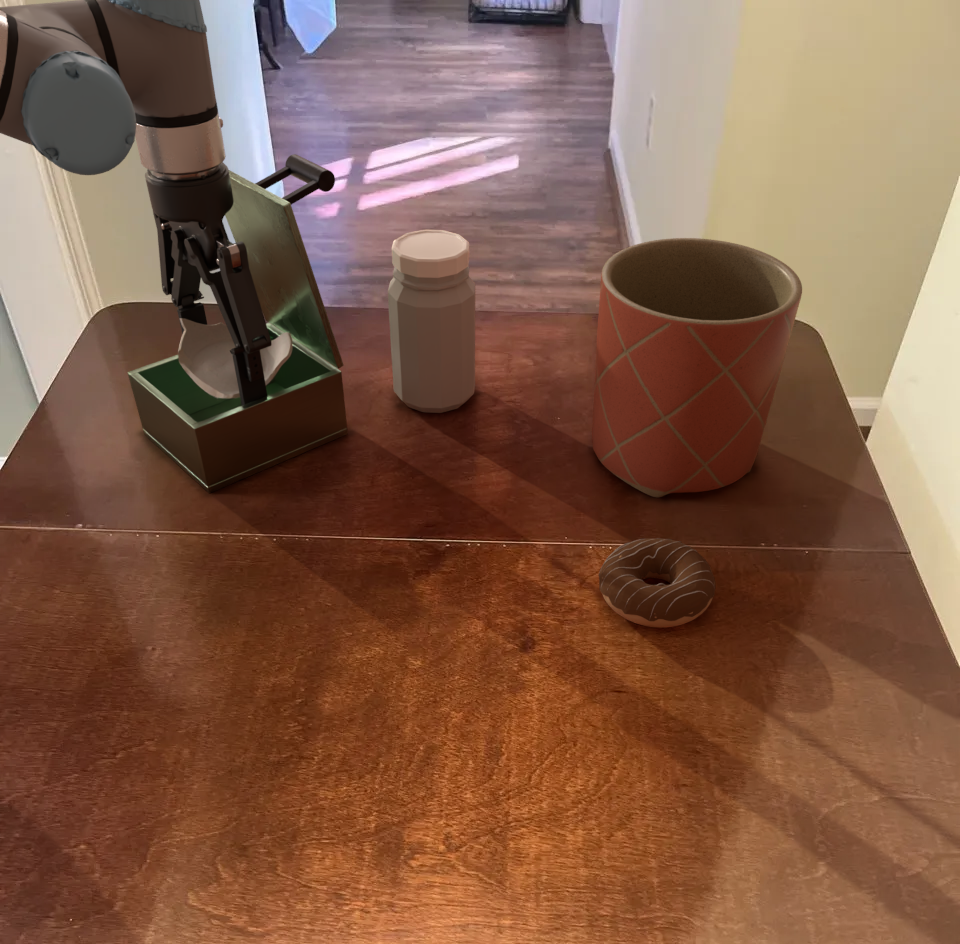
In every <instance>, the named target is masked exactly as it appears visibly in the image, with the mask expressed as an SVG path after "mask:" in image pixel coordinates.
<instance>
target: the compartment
mask: <svg viewBox="0 0 960 944" xmlns="http://www.w3.org/2000/svg"><path fill="white" fill-rule="evenodd" d="M266 325H267V329H268V332H269V335H270V339H271V341H272V340H274V339H276V338H277V337H278V336H280V335H281V334H283V333H284V332H282V331H281V330H279V329H278V328H277V327H275V326H274V325H272V324H271V323H269V322H267V323H266ZM292 341H293V348H292V353H291V356H290V357H289V358H288V360H287V361H286V362H285V363H284V364H283V365H282V366H281V367H280V369H279V370H278V372H277V374H276V375H275V377H274V378H273V379H272V380H271V381H270V382H269V383H268V384H267V385H266V391H267V396H266V397H263V398H261V399H258V400H256V401H253V402H250V403H248V404H245V405H243V406H242V404H241V399H240V397H239V398H233V399H225V398H216V397H213V396H212V395H210V394H208V393H207V392H205V391H204V390H203V389H202V388H200V387H199V386H198V385H197V384H196V383H195V382H194V381H193V379H192V378H191V377H190V376H189V375H188V374H187V373H186V371H185V370H184V369H183V367H182V366H181V365H180V363H179V358H178V354H175V355H172V356H170V357H166V358H164V359H161V360H158V361H155V362H153V363H149V364H146V365H144V366H141V367H138V368H135V369H132V370H130V371H127V376H128V379H129V383H130V387H131V390H132V395H133V398H134V403H135V405H136V409H137V412H138V413H137V414H138V416H139V420H140V423H141V427H142V431H143V435H144V436H145V437H147V439H148V440H149V441H151V442H152V443H153V444H154V445H156V447H157V448H158V449H160V450H161V451H162V452H163V453H164V454H165V455H166V456H167V457H168V458H170V460H172V461H173V462H174V463H175V464H176V465H177V466H179V468H181V469H182V470H183V471H184V472H185V473H186V474H187V475H188V476H189V477H190V478H191V479H193V480H194V481H195V482H196V483H197V484H198V485H199V486H201V488H202V489H204V490H205V491H206V492H207V493H208V494H211V493H214V492H216V491H218V490H221V489H223V488H225V487H227V486H230V485H232V484H234V483H236V482H239V481H242V480H244V479H246V478H248V477H251V476H253V475H255V474H258V473H261V472H262V471H264V470H267V469H269V468H272V467H274V466H276V465H279V464H281V463H283V462H286V461H288V460H290V459H293V458H295V457H297V456H300V455H302V454H305V453H307V452H309V451H311V450H314V449H317V448H319V447H320V446H323V445H326V444H328V443H330V442H332V441H334V440H335V441H336V440H337V439H339V438H342V437H344V436H347V435H348V423H347V413H346V403H345V393H344V383H343V382H344V381H343V374H342V370H340V369H338V368H336V367H335V366H333V365H332V364H330V363H329V362H327V361H326V360H324V359H323V358H321V357H320V356H318V355H317V354H315V353H314V352H312V351H311V350H309V349H308V348H306V347H305V346H303V345H302V344H300V343H299V342H297V341H296V340H294V339H293V338H292Z"/></svg>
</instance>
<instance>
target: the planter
mask: <svg viewBox="0 0 960 944" xmlns="http://www.w3.org/2000/svg"><path fill="white" fill-rule="evenodd" d="M802 295H803V284H802V282H801V279H800V277H799V276H798V275H797V273H796V272H795V271H794V270H793V269H792V268H791V267H790V266H789V265H787V263H785V262H783V261H781V260H780V259H778V258H777V257H775V256H773V255H771V254H768V253H766V252H764V251H762V250H758V249H756V248H753V247H749V246H746V245H743V244H739V243H734V242H731V241H726V240H725V241H724V240H718V239H711V238H710V239H709V238H700V237H699V238H697V237H696V238H695V237H675V238H674V237H673V238H662V239H654V240H649V241H644V242H641V243H637V244H633V245H631V246H629V247H626V248H623V249H621V250H619V251H617V252H616V253H614V254H613V255H611V256H610V257H609V258H608V259H607V260H606V262H605V263H604V265H603V267H602V269H601V272H600V285H599V301H598V302H599V303H598V318H597V331H596V347H595V348H596V351H595V368H594V369H595V371H594V389H593V407H592V421H591V422H592V425H591V442H592V449H593V452H594V453H595V456H596V457H597V459H598V460H599V462H600V463H601V465H603V467H605V469H606V470H608V471H609V472H610V473H612V474H613V475H614V476H615V477H617V478H618V479H620V480H621V481H623V482H625V483H626V484H627V485H629V486H631V487H632V488H634V489H636V490H638V491H640V492H641V493H643V494H645V495H648V496H650V497H653V498H662V497H665V496H666V495H667V496H668V495H669V494H682V493H684V494H685V493H700V492H708V491H713V490H718V489H721V488H725V487H727V486H729V485H731V484H734V483H735V482H738V481H739V480H741V478H743V477H744V476H745V475H747V474H748V473H750V472H751V471H752V468H753V466H754V463H755V460H756V458H757V455H758V452H759V449H760V445H761V442H762V439H763V434H764V431H765V429H766V425H767V420H768V417H769V413H770V410H771V407H772V403H773V399H774V396H775V393H776V390H777V385H778V382H779V378H780V376H781V372H782V369H783V365H784V361H785V358H786V354H787V350H788V347H789V344H790V340H791V335H792V332H793V329H794V324H795V320H796V317H797V314H798V310H799V307H800V303H801V299H802Z"/></svg>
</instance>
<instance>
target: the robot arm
mask: <svg viewBox="0 0 960 944" xmlns="http://www.w3.org/2000/svg"><path fill="white" fill-rule="evenodd" d="M207 32H208V29H207V25H206V23H205V18H204V15H203V10H202V6H201V2H200V0H66V1H55V2H53V1H51V2H42V3H30V4H20V5H9V6H8V5H7V6H0V134H1V135H4V136H7V137H9V138H11V139H14V140H16V141H17V140H18V141H20V142H23V143H25V144H28V145H31V146H33V147H34V148H35V150H36V151H37V152H38V153H39V154H40V155H42V156H43V157H44V158H46V159H47V160H48V161H49V162H51V163H53V164H54V165H55V166H57V167H58V168H60V169H62V170H64V171H66V172H68V173H72V174H76V175H80V176H95V175H96V176H97V175H100V174H104V173H106V172H110V171H112V170H113V169H115V168H116V167H117V166H119V165H120V164H121V163H122V162H123V161H124V160H125V159H126V158H127V156H128V154H129V153H130V151H131V149H132V147H133V144H134V142H135V141H136V146H137V151H138V156H139V159H140V164H141V165H142V166H143V167H144V168H145V169H147V170H146V171H145V174H144V178H145V179H144V180H145V183H146V187H147V192H148V196H149V201H150V205H151V209H152V215H153V218H154V219H153V220H154V222H155V227H156V231H157V232H156V233H157V245H158V257H159V267H160V269H159V270H160V280H161V281H160V282H161V289H162V292H163V294H165V296H169V295H170V297H171V302H172V304H173V306H174V307H175V308H177V309H176V312H177V315H178V321H179V325H180V328H181V335H183V332H184V328H183V327H182V324H181V322H180V319H179V318H183V319H187V320H190V321H193V322H196V323H200V324H204V325H208V321H207V315H206V310H205V305H204V303H202V302H201V301H200V302H197V301H199V300H203V299H204V298H205V296H203V293H202V291H201V290H200V286H201V281H202V283H203V284H205V286H206V285H207V286H208V287H209V288H210V289H211V290H210V291H211V292H212V294H213V297H214V299H215V302H216V304H217V306H218V309H219V311H220V313H221V316H222V319H223V320H224V323H225V325H226V326H227V328H228V330H229V333H230V335H231V337H232V340H233V342H234V345H235V347H236V348H233V349H231V350H229V351H230V353H231V354H232V356H233V362H234V367H235V372H236V378H237V383H238V388H239V394H240V399H241V404H242V406H243V405H245V404H248V403H250V402H253V401H256V400H258V399H261V398H263V397H266V396H267V391H266V384H265V378H264V372H263V366H262V360H261V354H260V350H261V349H264V348H267V347H269V346H271V345H272V343H271V339H270V335H269V332H268V329H267V325H266V324H267V323H266V322H267V321H266V320H265V317H264V314H263V312H262V309H261V305H260V302H259V299H258V295H257V292H256V289H255V285H254V282H253V279H252V275H251V272H250V269H249V263H248V256H247V249H246V246H245V244H244V243H243V242H242V241H240V242H237V243H236V242H234V243H233V242H232V241H230V239H229V236H228V233H227V230H226V229H225V225H224V222H223V220H224V217H226V216H225V214H226V213H227V212H228V211H229V210H230V209H231V208H232V206H233V202H234V200H233V194H232V188H231V182H230V176H229V170H230V169H229V167H228V166H227V165H226V164H225V162H224V161H225V160H226V156H227V155H226V151H225V144H224V138H223V137H224V136H223V132H222V128H223V127H224V120H223V119H222V118H221V117H220V114H219V108H218V102H217V98H216V90H215V85H214V78H213V71H212V64H211V63H212V62H211V58H210V51H209V44H208V43H209V42H208V36H207ZM217 270H219V271H217ZM213 271H215V272H213ZM195 302H196V303H195Z"/></svg>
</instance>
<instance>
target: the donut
mask: <svg viewBox="0 0 960 944" xmlns="http://www.w3.org/2000/svg"><path fill="white" fill-rule="evenodd" d="M597 575H598V585H599V591H600V593H601V594H602V597H603V599H604V601H605V603H606V604H607V605H608V607H610V609H611V610H612V611H614V613H616V614H617V615H619V616H621V617H622V618H623V619H625V620H627V621H629V622H631V623H635V624H637V625H641V626H645V627H649V628H658V629H659V628H660V629H661V628H673V627H679V626H681V625H685V624H687V623H690V622H692V621H693V620H696V619H697V618H698V617H700V616H701V615H702V614H703V613H704V612H705V611H706V610H707V609H708V607H709V606H710V605H711V603H712V601H713V599H714V597H715V593H716V592H715V591H716V579H715V576H714V573H713V570H712V568H711V566H710V564H709V562H708V561H707V560H706V559H705V558H704V557H703V556H702V555H701V554H700V553H699V552H698V551H697V549H695V548H693V547H691V546H690V545H688V544H686V543H683V542H682V541H680V540H679V541H678V540H673V539H671V538H661V537H656V538H640V539H637V540H633V541H630V542H625V543H623V544H621V545H619V546H618V547H617V548H615V549H614V550H613V551H612V552H611V553H610V555H608V557H606V559H605V560H604V563H603V564H602V565H601V567H600V569H599V571H598V574H597ZM646 579H659V580H662V581H665V582H668V583H670V584H665V583H664V582H660V583H658V584H649V583H646V582H645V581H644V580H646Z"/></svg>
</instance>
